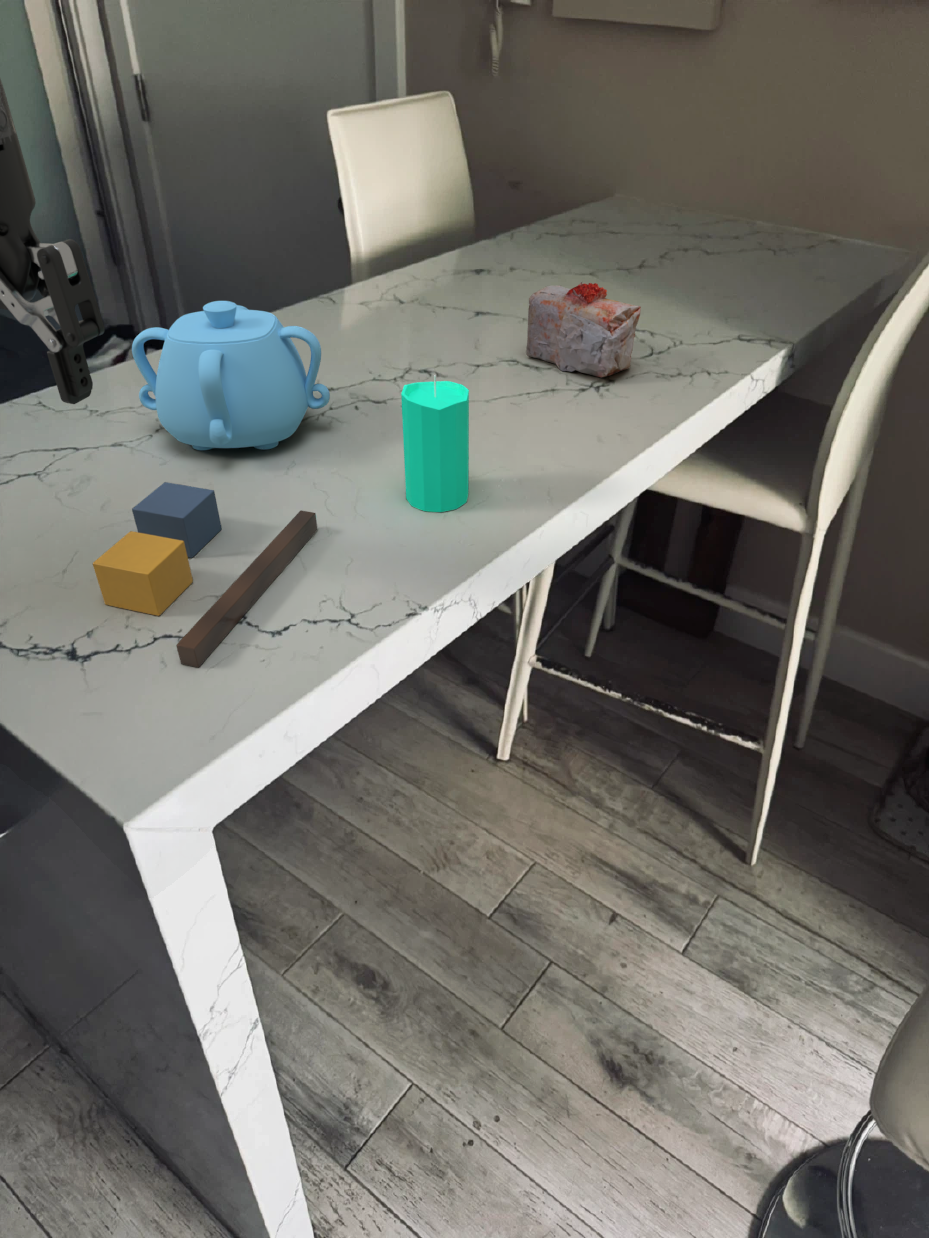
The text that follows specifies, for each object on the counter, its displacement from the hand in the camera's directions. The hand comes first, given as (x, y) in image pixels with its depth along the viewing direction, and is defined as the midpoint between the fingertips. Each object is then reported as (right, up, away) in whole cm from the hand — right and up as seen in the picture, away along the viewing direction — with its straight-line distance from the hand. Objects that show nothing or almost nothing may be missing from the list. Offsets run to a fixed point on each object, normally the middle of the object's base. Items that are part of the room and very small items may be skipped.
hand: (30, 390), depth 62 cm
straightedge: (+14, -14, +9) cm, 22 cm away
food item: (+45, +16, +48) cm, 68 cm away
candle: (+28, -5, +22) cm, 36 cm away
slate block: (+6, -9, +16) cm, 19 cm away
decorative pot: (+6, +4, +33) cm, 34 cm away
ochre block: (+5, -14, +9) cm, 18 cm away
